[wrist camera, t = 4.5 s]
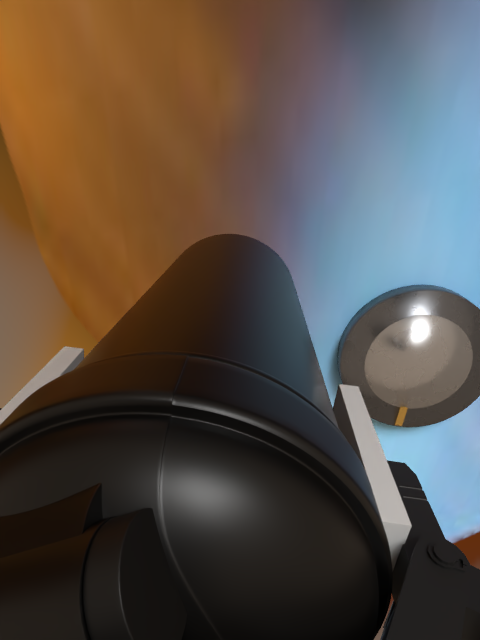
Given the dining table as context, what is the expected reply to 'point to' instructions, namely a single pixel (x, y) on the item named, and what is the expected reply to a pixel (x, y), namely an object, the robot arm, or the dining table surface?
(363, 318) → the grey plate
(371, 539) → the water bottle
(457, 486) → the dining table surface
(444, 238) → the dining table surface
